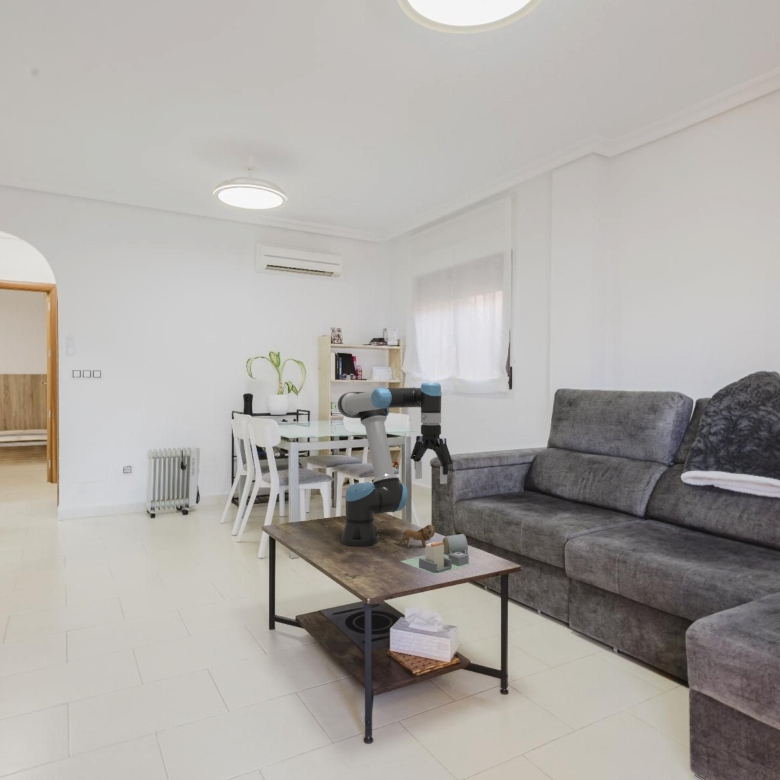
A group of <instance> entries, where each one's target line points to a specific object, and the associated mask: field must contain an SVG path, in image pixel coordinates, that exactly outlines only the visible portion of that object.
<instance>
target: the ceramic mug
mask: <svg viewBox="0 0 780 780" xmlns="http://www.w3.org/2000/svg"><path fill="white" fill-rule="evenodd" d="M442 542H443V545H444V554H445V555H449V554H452V553H455V552H461V553H464V554H467V555H468V551H469V550H468V549H469V546H468V539H467V537H466V535H465V534H464V533H459V534H454V535H448V536H447V535H446V536H444V537H443V539H442Z"/></svg>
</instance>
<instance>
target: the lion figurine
mask: <svg viewBox="0 0 780 780" xmlns="http://www.w3.org/2000/svg"><path fill="white" fill-rule="evenodd" d="M435 532H436V531H435V526H434V525H433V524H427V525H425V526H424V527H423V528H420V529H419V530H414V529H410V528H409V529H406V530H405V531H404V532H403V534H402V537H401V541H400V542H399V543H398V544H397V545H398V546H400V545H401V544H402V545H403V546H407V548H408V547H410V548H411V545H410V544H409V542H410V539H412V540H414V541H421V548H422V549H426V547H425V546H426V542H428V541H430V540H431V539H432V538H433V537H434V536H435Z"/></svg>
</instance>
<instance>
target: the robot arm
mask: <svg viewBox="0 0 780 780" xmlns="http://www.w3.org/2000/svg"><path fill="white" fill-rule="evenodd" d="M442 394H443V393H442V385H441V384H440V383H439V382H423V383H421V384H420V387H395V388H394V387H378V388H377V387H376V388H374V389H373V390H371V391H348V392H346V393H344V394H342V395H340V397H339V398H338V401H337V409H338V411H339V413H340V414H341V415H342V416H344V417H346V418H348V419H349V418H350V419H360V424H361V425H362V426H364V428H365V432H366V438H367V442H368V443H367V444H368V449H369V455H370V459H371V464H372V465H371V466H372V470H373V474H374V475H373V476H374V479H373V481H372V482H367V481H366V482H358V483H354V484H351V485H349V486H348V487H347V488H346V491H345V498H344V499H345V524H344V526H343V530H342V534H341V541H342V542H341V543H342V544H343V543H344V545H346V544H347V546H350V545H352V546H351V547H366V546H367V547H368V546H371V545H375V544H377V543H378V542H379V534H378V531H377V527H376V525H375V515H378V514H387V513H395V512H400V511H402V510H403V509H404V508H405V507H406V505H407V502H408V498H409V497H408V488H407V486H406V485H405V484H404V483H403V482H400V477H398V476H397V475H395V471H394V465H393V459H392V455H391V451H390V446H389V440H388V436H387V430H386V425H385V422H386V420H387V417H388V416H389V414H390V409H394V408H395V409H397V408H420V423H421V425H420V434H421V435H416V437H415V443H414V446H413V449H412V452H411V453H410V454H411V455H410V459H411V460H413V461H414V471H415V472H414V473H415V474H414V476H415V480H418V479H419V480H420V479H423V461H422V458H423V457H424V455H425V453H426V452H427V450H430V451H431V450H432V451H433V452H434V453H435V455H436V456H437V458H438V460H439V462H440V464H441V465H439V466H440V467H439V468H440V469H439V470H440V471H439V474H440V475H439V484H440V485H445V484H448V474H449V465H453V460H452V457H451V454H450V451H449V448H448V444H447V439H446V438H443V437H441V438H440V435H441V434H442V425H441V423H442Z"/></svg>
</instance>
